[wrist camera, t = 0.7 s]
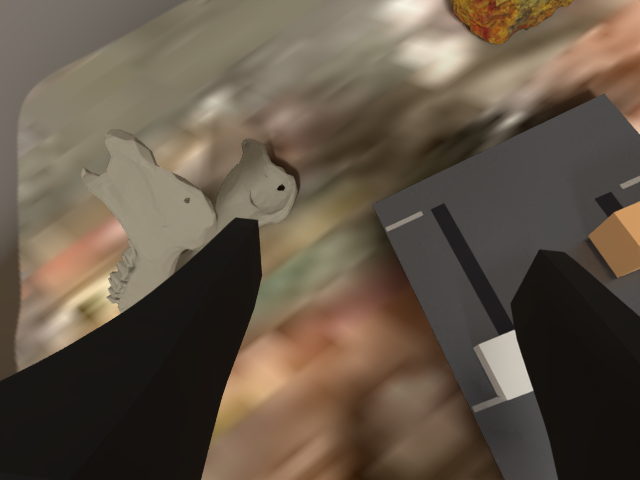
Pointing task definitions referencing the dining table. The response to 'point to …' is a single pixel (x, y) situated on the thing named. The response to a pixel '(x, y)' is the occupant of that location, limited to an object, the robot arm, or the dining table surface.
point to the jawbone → (178, 209)
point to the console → (512, 250)
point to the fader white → (504, 366)
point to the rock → (503, 16)
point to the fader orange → (620, 240)
